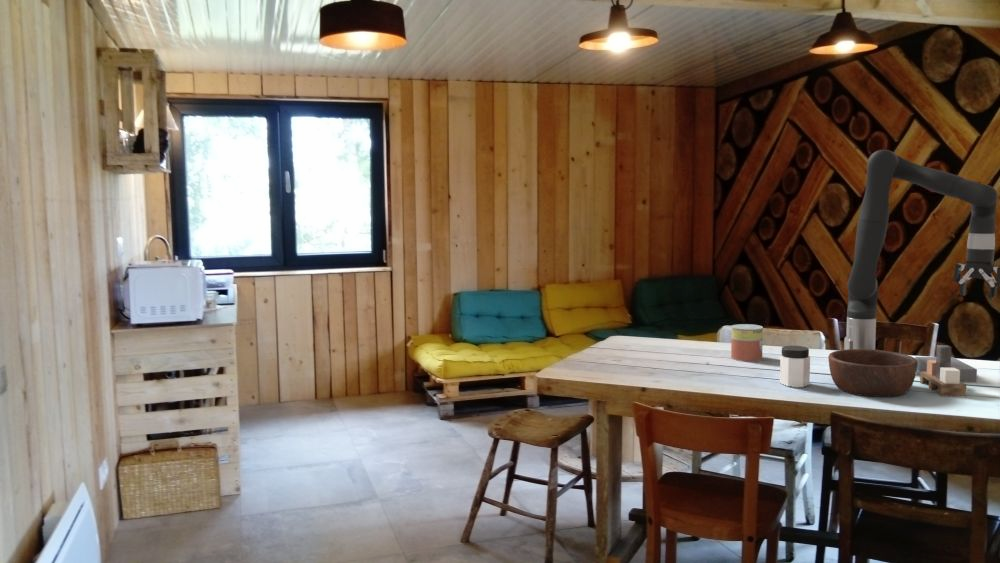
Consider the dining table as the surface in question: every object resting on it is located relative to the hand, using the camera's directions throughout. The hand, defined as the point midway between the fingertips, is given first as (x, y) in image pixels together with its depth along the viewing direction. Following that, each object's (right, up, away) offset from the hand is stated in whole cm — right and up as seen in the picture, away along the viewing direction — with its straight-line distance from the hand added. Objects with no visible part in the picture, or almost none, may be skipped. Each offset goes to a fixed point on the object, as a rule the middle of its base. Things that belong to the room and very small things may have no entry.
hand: (977, 296), depth 245 cm
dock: (-7, -26, +6) cm, 28 cm away
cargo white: (-19, -25, -17) cm, 36 cm away
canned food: (-63, -24, +37) cm, 77 cm away
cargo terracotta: (-17, -24, -7) cm, 31 cm away
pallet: (-18, -28, -11) cm, 36 cm away
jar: (-60, -29, -1) cm, 67 cm away
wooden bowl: (-39, -29, -9) cm, 49 cm away
